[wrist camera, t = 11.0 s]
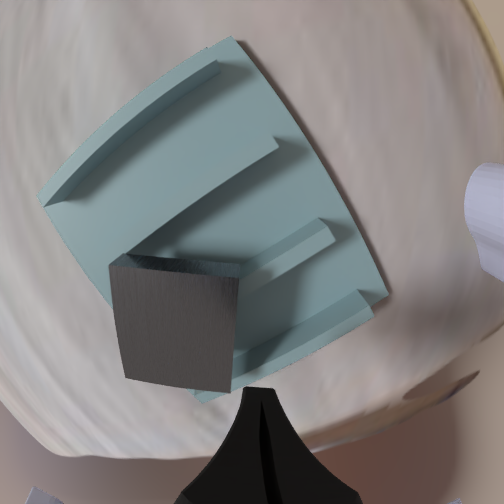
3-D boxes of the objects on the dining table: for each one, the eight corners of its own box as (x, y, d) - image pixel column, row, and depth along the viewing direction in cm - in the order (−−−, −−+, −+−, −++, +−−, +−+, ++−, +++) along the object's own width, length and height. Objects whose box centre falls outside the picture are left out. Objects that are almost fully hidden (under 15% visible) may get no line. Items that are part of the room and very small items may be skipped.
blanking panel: (239, 277, 14) (108, 264, 14) (230, 393, 17) (125, 377, 16) (240, 263, 16) (122, 253, 16) (232, 373, 18) (134, 360, 18)
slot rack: (384, 290, 20) (403, 310, 17) (196, 390, 23) (190, 417, 20) (232, 40, 15) (228, 18, 12) (43, 195, 18) (16, 202, 15)
